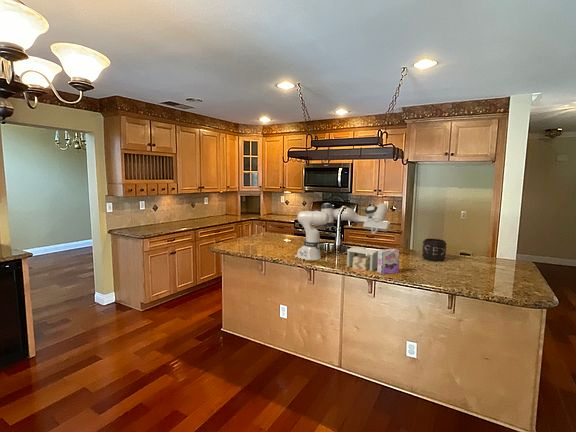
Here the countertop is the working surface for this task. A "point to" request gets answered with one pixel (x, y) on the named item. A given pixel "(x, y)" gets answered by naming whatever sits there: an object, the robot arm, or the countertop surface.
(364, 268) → the birch block
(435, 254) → the lettered black canister
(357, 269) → the trap pit
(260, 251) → the countertop surface
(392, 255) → the candy box
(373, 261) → the tunnel
